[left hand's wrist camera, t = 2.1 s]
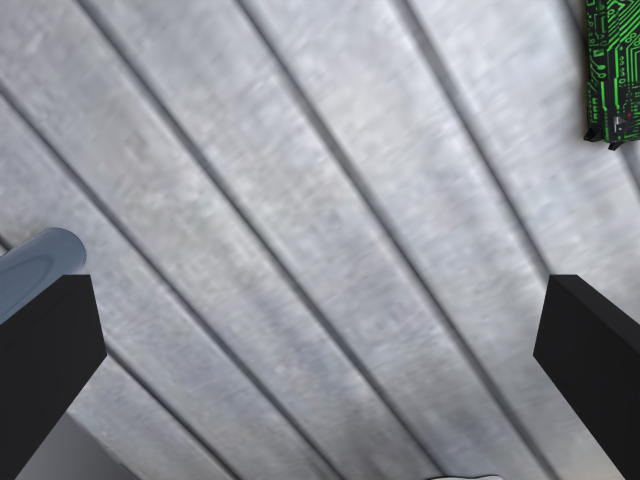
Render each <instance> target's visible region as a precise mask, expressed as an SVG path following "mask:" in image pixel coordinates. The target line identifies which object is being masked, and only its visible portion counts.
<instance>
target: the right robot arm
mask: <svg viewBox="0 0 640 480" xmlns="http://www.w3.org/2000/svg"><path fill="white" fill-rule="evenodd" d="M433 480H503V479H502V478H501V477H499V476H487V477H482V478H477V479H464V478H438V479H433Z"/></svg>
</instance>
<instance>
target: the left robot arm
mask: <svg viewBox="0 0 640 480" xmlns="http://www.w3.org/2000/svg"><path fill="white" fill-rule="evenodd" d="M106 356H107V352H106V347H105V343H104V338H103V333H102V329H101V324H100V319H99V314H98V310H97V305H96V300H95V295H94V291H93V286H92V281H91V277H90V275H62V276H61V277H60V278H58V279H57V280H56V281H55V282H53V283H52V284H51V285H50V286H48V287H47V288H46V289H45V290H43V291H42V292H41V293H40V294H38V295H37V296H36V297H35V298H33V299H32V300H31V301H30V302H28V303H27V304H26V305H24V306H23V307H22V308H21V309H19V310H18V311H17V312H16V313H14V314H13V315H12V316H11V317H9V318H8V319H7V320H6V321H4V322H3V323H2V324H1V325H0V480H15V478H16V477H17V475H18V474H19V473H20V471H21V470H22V469H23V468H24V466H25V465H26V463H27V462H28V461H29V459H30V458H31V457H32V455H33V454H34V453H35V451H36V450H37V449H38V447H39V446H40V445H41V443H42V442H43V441H44V439H45V438H46V437H47V435H48V434H49V433H50V431H51V430H52V429H53V427H54V426H55V425H56V423H57V422H58V421H59V419H60V418H61V416H62V415H63V414H64V413H65V411H66V410H67V409H68V407H69V406H70V405H71V403H72V402H73V400H74V399H75V398H76V396H77V395H78V394H79V392H80V391H81V390H82V388H83V387H84V386H85V384H86V383H87V382H88V380H89V379H90V378H91V376H92V375H93V374H94V372H95V371H96V370H97V368H98V367H99V366H100V364H101V363H102V362H103V360H104V359H105V358H106ZM533 356H534V358H535V359H536V360H537V362H538V363H539V364H540V366H541V367H542V368H543V370H544V371H545V372H546V374H547V375H548V376H549V378H550V379H551V380H552V382H553V383H554V384H555V386H556V387H557V388H558V390H559V391H560V392H561V394H562V395H563V396H564V398H565V399H566V400H567V402H568V403H569V405H570V406H571V407H572V409H573V410H574V411H575V413H576V414H577V415H578V417H579V418H580V419H581V421H582V422H583V423H584V425H585V426H586V427H587V429H588V430H589V431H590V433H591V434H592V435H593V437H594V438H595V439H596V441H597V442H598V443H599V445H600V446H601V447H602V449H603V450H604V451H605V453H606V454H607V455H608V457H609V458H610V459H611V461H612V462H613V464H614V465H615V466H616V468H617V469H618V470H619V472H620V473H621V474H622V476H623V477H624V478H625V480H640V325H639V324H638V323H637V322H636V321H634V320H633V319H632V318H631V317H629V316H628V315H627V314H626V313H624V312H623V311H622V310H621V309H619V308H618V307H617V306H616V305H614V304H613V303H612V302H610V301H609V300H608V299H607V298H605V297H604V296H603V295H602V294H600V293H599V292H598V291H597V290H595V289H594V288H593V287H592V286H590V285H589V284H588V283H587V282H585V281H584V280H583V279H582V278H580V277H579V276H578V275H550V277H549V281H548V286H547V291H546V295H545V300H544V305H543V310H542V314H541V319H540V324H539V329H538V333H537V338H536V343H535V347H534V352H533Z"/></svg>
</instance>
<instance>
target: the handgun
mask: <svg viewBox="0 0 640 480" xmlns="http://www.w3.org/2000/svg"><path fill="white" fill-rule="evenodd" d="M586 11H587V28H588V44H589V58H590V72H591V80H590V81H587V82H586V85H587V97H588V106H587V117H588V130H589V131H588V132H587V133H586V135H585V136H584V138H583V140H586V141H590V142H596V141H603V142H607V143H610V146H609V148H608V149H609V150H613V151H615V150H616V149H617V148H618V147H619V146H620V145H621V144H623V143H625V142H626V141H635V140H640V0H586Z"/></svg>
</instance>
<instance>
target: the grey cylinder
mask: <svg viewBox="0 0 640 480" xmlns="http://www.w3.org/2000/svg"><path fill="white" fill-rule="evenodd" d="M85 261H86V251H85V248H84V245H83V244H82V242H81V241H80V239H79V238H78V237H77V236H75V235H74V234H73V233H71V232H69V231H67V230H64V229H60V228H50V229H46V230H44V231H42V232H41V233H39V234H37V235H36V236H34V237H32V238H30V239H29V240H27V241H25V242H24V243H22V244H20V245H18V246H17V247H15V248H13V249H11V250H10V251H8V252H6V253H5V254H3V255H1V256H0V325H1V324H2V323H3V322H4V321H6V320H7V319H8V318H9V317H11V316H12V315H13V314H14V313H16V312H17V311H18V310H19V309H21V308H22V307H23V306H24V305H26V304H27V303H28V302H30V301H31V300H32V299H33V298H35V297H36V296H37V295H38V294H40V293H41V292H42V291H43V290H45V289H46V288H47V287H48V286H50V285H51V284H52V283H53V282H55V281H56V280H57V279H58V278H60V277H61V276H62V275H74V274H75V273H76V272H78V271H79V270H80V269H81V268H82V267H83V265H84V263H85Z"/></svg>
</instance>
